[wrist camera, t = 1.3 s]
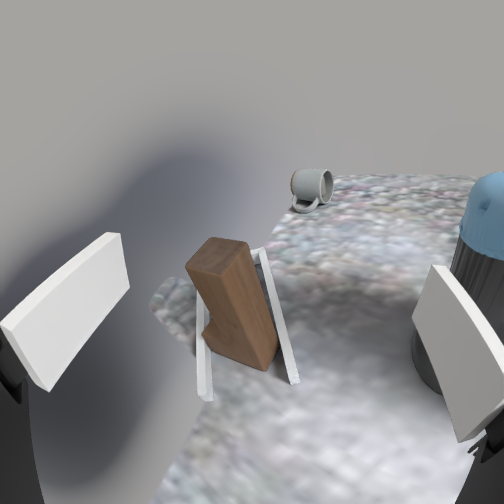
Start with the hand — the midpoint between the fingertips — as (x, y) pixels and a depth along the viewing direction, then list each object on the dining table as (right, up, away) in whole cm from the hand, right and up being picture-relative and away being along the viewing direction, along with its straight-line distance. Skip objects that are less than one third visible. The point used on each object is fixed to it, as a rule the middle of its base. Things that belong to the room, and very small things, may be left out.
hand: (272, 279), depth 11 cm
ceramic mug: (+13, +12, +51) cm, 54 cm away
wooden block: (-2, -12, +26) cm, 29 cm away
